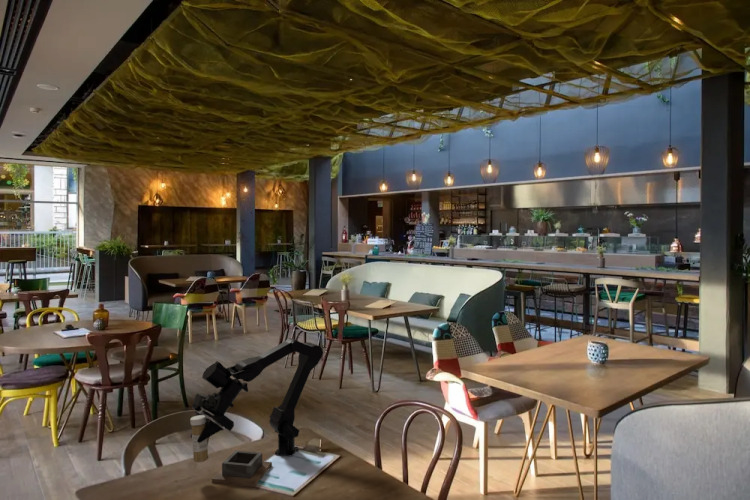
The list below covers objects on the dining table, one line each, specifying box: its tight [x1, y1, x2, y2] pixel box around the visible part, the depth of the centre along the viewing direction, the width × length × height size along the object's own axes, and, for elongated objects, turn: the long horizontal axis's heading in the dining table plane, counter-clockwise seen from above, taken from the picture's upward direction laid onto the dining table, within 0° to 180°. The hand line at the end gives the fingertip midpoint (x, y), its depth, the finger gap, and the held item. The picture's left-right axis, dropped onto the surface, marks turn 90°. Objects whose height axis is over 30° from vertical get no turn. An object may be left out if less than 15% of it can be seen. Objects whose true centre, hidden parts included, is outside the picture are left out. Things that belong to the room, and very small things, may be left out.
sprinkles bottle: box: [189, 415, 209, 463], centre depth 162 cm, size 5×5×14 cm
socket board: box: [211, 450, 273, 488], centre depth 166 cm, size 14×14×5 cm
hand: (194, 439), depth 161 cm, fingers closed on sprinkles bottle, 4 cm apart
